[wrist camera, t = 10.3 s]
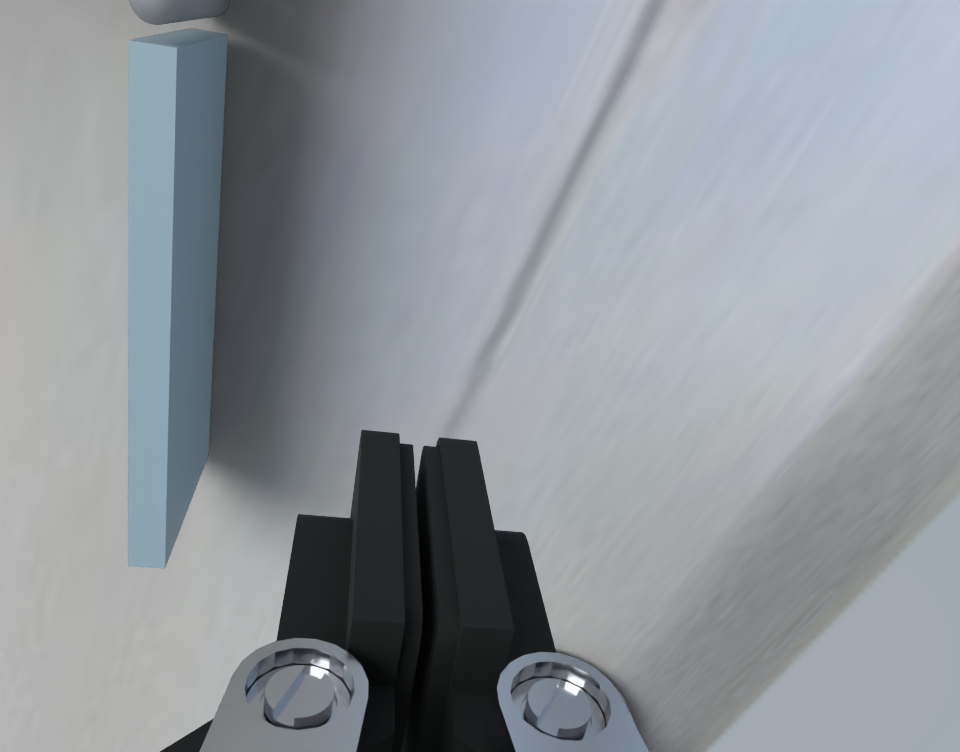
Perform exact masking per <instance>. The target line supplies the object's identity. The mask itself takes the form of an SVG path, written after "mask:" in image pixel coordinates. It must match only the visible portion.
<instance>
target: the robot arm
mask: <svg viewBox="0 0 960 752" xmlns="http://www.w3.org/2000/svg"><path fill="white" fill-rule="evenodd" d="M160 752H649V751H648V749H647V747H646V745H645V743H644V741H643V739H642V737H641V735H640V733H639V731H638V729H637V727H636V725H635V723H634V721H633V717H632V714H631V712H630V710H629V708H628V705H627V703H626V701H625V699H624V697H623V695H622V694H621V693H620V692H619V691H618V689H617V688H616V687H615V686H614V685H613V684H612V682H611V681H610V680H609V679H608V678H607V677H605V676H604V675H603V674H602V673H601V672H599V671H598V670H597V669H596V668H595V667H593V666H591V665H589V664H587V663H585V662H584V661H582V660H580V659H578V658H575V657H571V656H568V655H564V654H561V653H556V650H555V647H554V643H553V639H552V635H551V631H550V627H549V623H548V619H547V615H546V611H545V607H544V603H543V600H542V596H541V592H540V588H539V584H538V580H537V576H536V572H535V568H534V564H533V560H532V557H531V553H530V549H529V545H528V541H527V538H526V536H525V534H523V533H522V532H510V531H498V530H494V525H493V520H492V515H491V510H490V505H489V500H488V495H487V490H486V485H485V480H484V475H483V470H482V465H481V460H480V455H479V450H478V445H477V442H476V441H469V440H459V439H449V438H439V439H438V442H437V445H436V447H431V446H424V447H423V450H422V455H421V461H420V467H419V474H418V480H417V486H416V488H415V471H414V454H413V445H410V444H400V437H399V434H398V433H388V432H378V431H368V430H362V431H361V438H360V445H359V453H358V461H357V469H356V477H355V485H354V493H353V501H352V509H351V517H350V518H338V517H326V516H313V515H301V514H298V517H297V522H296V528H295V534H294V540H293V546H292V552H291V558H290V564H289V570H288V576H287V582H286V588H285V594H284V600H283V606H282V612H281V618H280V624H279V630H278V636H277V641H275V642H273V643H270V644H268V645H266V646H263V647H261V648H259V649H257V650H255V651H254V652H253V653H252V654H250V655H249V656H248V657H246V658H245V659H244V660H243V661H242V662H241V663H240V665H239V666H238V668H237V669H236V671H235V672H234V674H233V675H232V678H231V680H230V682H229V685H228V687H227V689H226V692H225V694H224V696H223V698H222V701H221V703H220V705H219V708H218V710H217V712H216V715H215V717H214V719H212V720H211V721H209V722H207V723H206V724H204V725H203V726H201V727H199V728H198V729H196V730H195V731H193V732H191V733H190V734H188V735H186V736H185V737H183V738H182V739H180V740H178V741H177V742H175V743H173V744H172V745H170V746H169V747H167V748H165V749H164V750H162V751H160Z"/></svg>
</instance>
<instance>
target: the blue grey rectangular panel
mask: <svg viewBox="0 0 960 752" xmlns="http://www.w3.org/2000/svg"><path fill="white" fill-rule="evenodd" d="M129 1H130V4H131V7H132V9H133V11H134V12H135V13H136V15H137V16H138V17H139V18H141V19H142V20H143V21H145V22H147V23H150V24H154V25H161V24H168V23H174V22H181V21H188V20H195V19H202V18H209V17H216V16H220V15H222V14H223V13H224V12H225V11H226V10H227V8H228V6H229V0H129ZM227 43H228V34H222V33H216V32H210V31H205V30H199V29H193V28H190V29H185V30H180V31H174V32H169V33H164V34H158V35H153V36H148V37H142V38H137V39H132V40H129V193H128V566H134V567H148V568H162V569H165V567H166V564H167V562H168V559H169V557H170V554H171V551H172V549H173V546H174V544H175V541H176V538H177V536H178V533H179V531H180V528H181V525H182V523H183V520H184V518H185V515H186V512H187V510H188V507H189V505H190V502H191V499H192V497H193V494H194V492H195V489H196V486H197V484H198V481H199V479H200V476H201V473H202V471H203V468H204V466H205V463H206V460H207V458H208V455H209V433H210V412H211V390H212V368H213V347H214V325H215V303H216V282H217V260H218V238H219V217H220V195H221V173H222V152H223V130H224V108H225V86H226V65H227Z"/></svg>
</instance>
